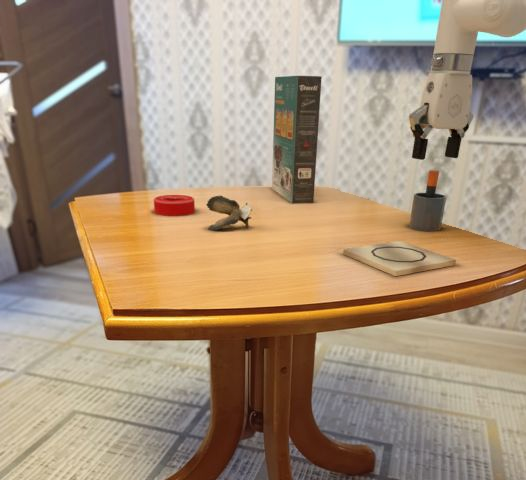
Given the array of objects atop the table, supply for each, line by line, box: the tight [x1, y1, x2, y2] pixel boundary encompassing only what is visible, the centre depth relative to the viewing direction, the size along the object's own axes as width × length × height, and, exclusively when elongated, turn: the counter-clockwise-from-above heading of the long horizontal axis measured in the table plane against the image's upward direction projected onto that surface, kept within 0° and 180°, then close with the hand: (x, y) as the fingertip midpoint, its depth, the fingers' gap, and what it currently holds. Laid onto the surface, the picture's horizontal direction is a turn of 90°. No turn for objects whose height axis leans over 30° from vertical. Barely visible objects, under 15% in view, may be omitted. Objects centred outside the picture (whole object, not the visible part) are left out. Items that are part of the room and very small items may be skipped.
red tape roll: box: [153, 194, 196, 217], centre depth 123 cm, size 10×10×3 cm
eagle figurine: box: [206, 195, 253, 231], centre depth 109 cm, size 8×7×9 cm
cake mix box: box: [271, 75, 323, 204], centre depth 139 cm, size 22×6×30 cm, turn 13°
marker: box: [425, 169, 440, 198], centre depth 111 cm, size 2×2×12 cm
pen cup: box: [408, 192, 447, 232], centre depth 113 cm, size 7×7×7 cm
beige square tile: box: [342, 240, 457, 277], centre depth 91 cm, size 14×14×1 cm
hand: (434, 158), depth 108 cm, fingers open, 9 cm apart
